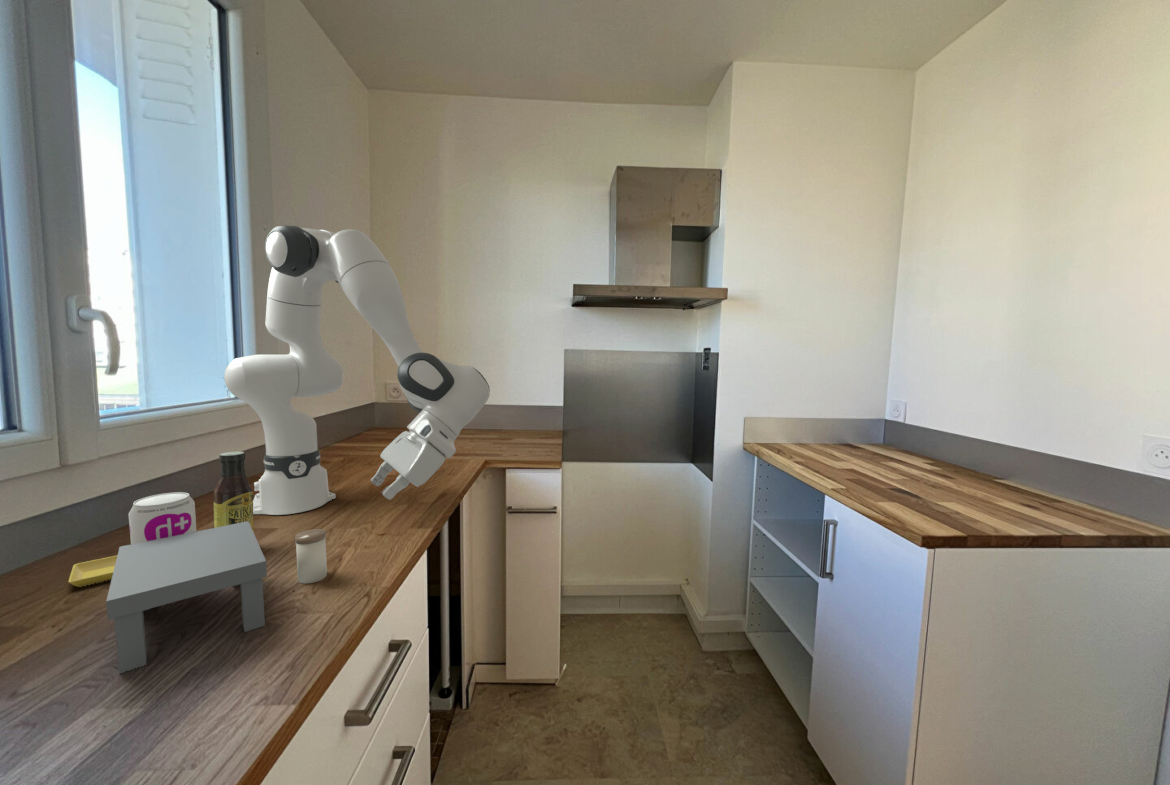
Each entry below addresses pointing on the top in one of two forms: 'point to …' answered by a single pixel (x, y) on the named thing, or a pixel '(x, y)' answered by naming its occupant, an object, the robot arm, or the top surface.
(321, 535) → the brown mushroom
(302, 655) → the top surface
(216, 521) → the sauce bottle
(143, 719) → the top surface
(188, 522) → the supplement can
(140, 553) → the footstool
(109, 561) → the yellow shallow tray
